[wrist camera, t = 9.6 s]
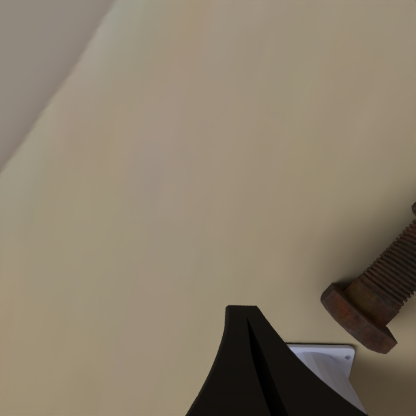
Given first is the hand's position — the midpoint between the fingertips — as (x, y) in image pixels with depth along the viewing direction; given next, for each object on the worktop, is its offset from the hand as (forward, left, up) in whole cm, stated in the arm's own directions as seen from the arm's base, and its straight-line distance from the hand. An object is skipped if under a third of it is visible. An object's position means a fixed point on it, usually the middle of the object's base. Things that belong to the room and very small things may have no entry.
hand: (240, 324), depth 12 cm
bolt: (0, -14, -10) cm, 17 cm away
